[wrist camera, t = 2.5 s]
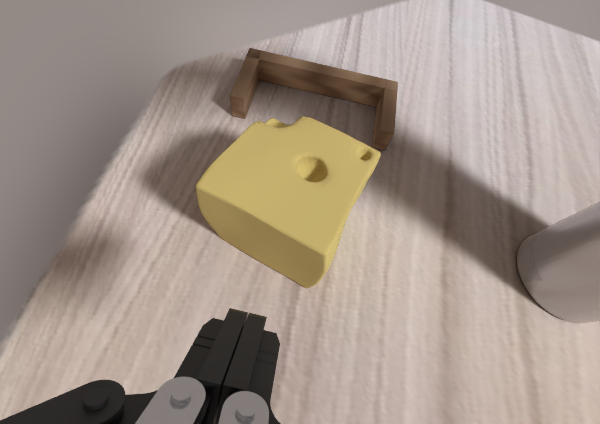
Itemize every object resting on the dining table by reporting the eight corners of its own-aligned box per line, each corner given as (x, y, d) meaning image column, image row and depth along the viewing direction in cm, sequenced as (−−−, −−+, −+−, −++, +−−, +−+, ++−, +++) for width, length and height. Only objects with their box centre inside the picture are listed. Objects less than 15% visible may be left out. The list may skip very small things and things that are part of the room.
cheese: (268, 162, 34) (270, 90, 25) (356, 209, 33) (392, 151, 24) (210, 239, 30) (187, 184, 21) (310, 298, 28) (332, 266, 19)
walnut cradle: (388, 101, 40) (397, 82, 37) (384, 150, 36) (394, 133, 34) (250, 69, 40) (249, 47, 37) (232, 115, 36) (229, 95, 34)
